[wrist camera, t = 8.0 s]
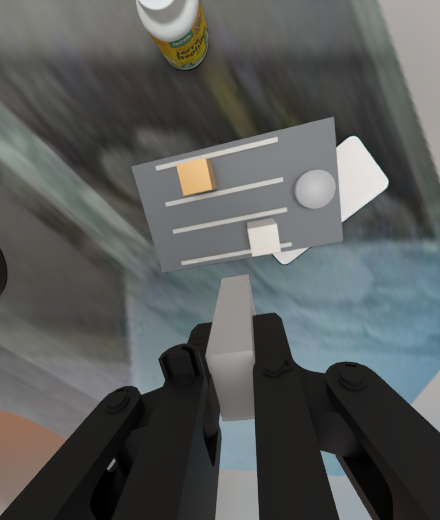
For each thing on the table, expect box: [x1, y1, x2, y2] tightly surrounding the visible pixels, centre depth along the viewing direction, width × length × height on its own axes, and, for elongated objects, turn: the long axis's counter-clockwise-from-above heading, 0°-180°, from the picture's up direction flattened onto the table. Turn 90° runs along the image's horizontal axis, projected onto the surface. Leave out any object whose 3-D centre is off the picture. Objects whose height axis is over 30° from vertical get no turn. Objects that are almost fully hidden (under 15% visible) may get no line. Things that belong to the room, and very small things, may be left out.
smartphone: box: [272, 135, 389, 265], centre depth 31 cm, size 8×1×16 cm
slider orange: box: [176, 158, 217, 196], centre depth 27 cm, size 3×3×4 cm
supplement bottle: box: [136, 0, 208, 70], centre depth 23 cm, size 5×5×10 cm
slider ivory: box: [247, 218, 281, 257], centre depth 28 cm, size 3×3×4 cm
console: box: [131, 117, 343, 273], centre depth 30 cm, size 23×14×4 cm, turn 102°
